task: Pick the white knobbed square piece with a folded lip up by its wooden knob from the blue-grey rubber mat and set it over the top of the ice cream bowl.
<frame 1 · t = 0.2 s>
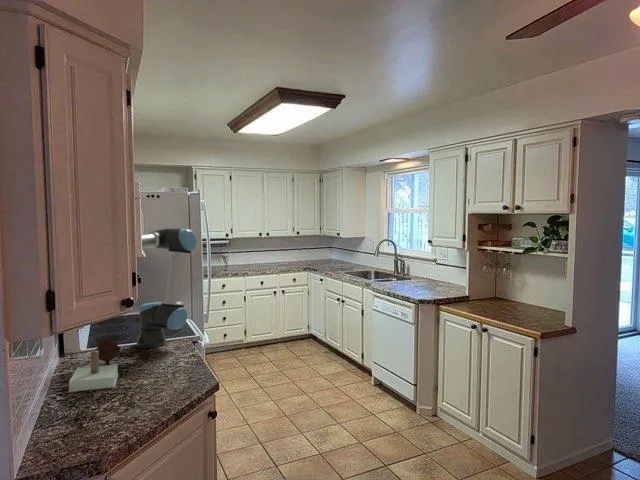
hand: (88, 313, 183), 28 cm above the worktop, tool tilted 15°, fingers open, 13 cm apart
ice cream bowl: (107, 369, 196), on the worktop
mat: (94, 383, 179), on the worktop
white knobbed square piece: (94, 381, 179), point 1 cm above the worktop, touching mat
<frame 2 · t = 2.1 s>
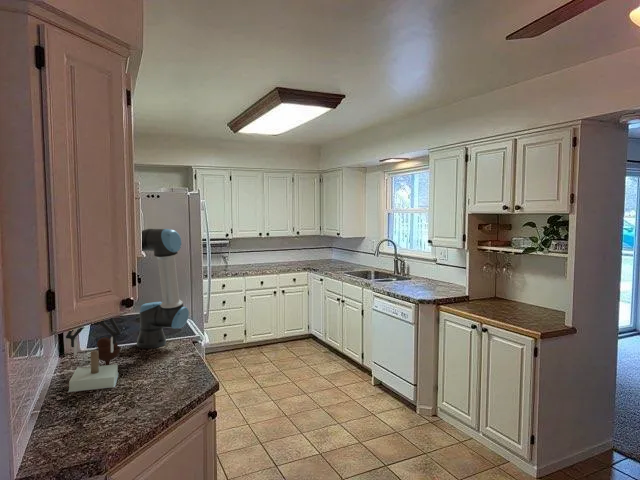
hand: (94, 353, 179), 13 cm above the worktop, tool pointing down, fingers open, 13 cm apart
nothing on the worktop moved.
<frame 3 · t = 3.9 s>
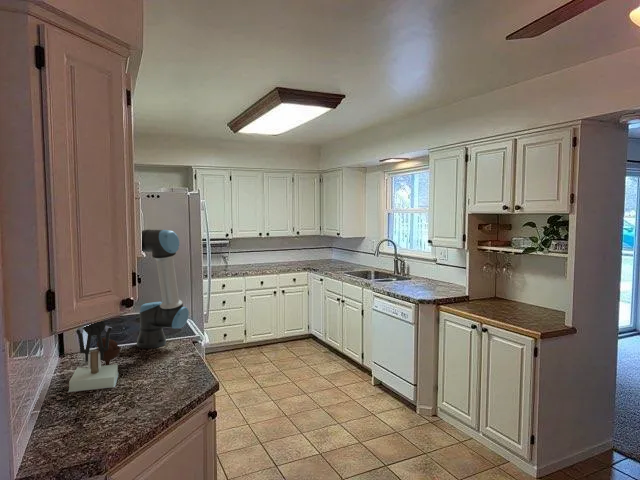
hand: (94, 367, 179), 7 cm above the worktop, tool pointing down, fingers closed on white knobbed square piece, 3 cm apart
white knobbed square piece: (94, 381, 179), point 1 cm above the worktop, touching gripper, mat
everything else where it was.
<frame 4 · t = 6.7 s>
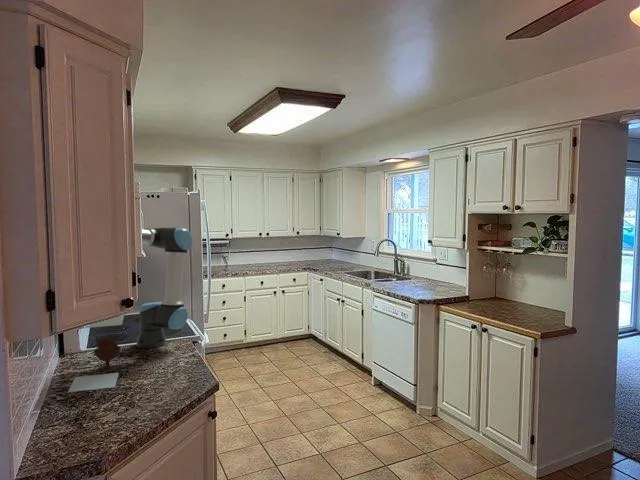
hand: (102, 308, 188), 30 cm above the worktop, tool pointing down, fingers closed on white knobbed square piece, 3 cm apart
white knobbed square piece: (103, 321, 188), point 24 cm above the worktop, touching gripper
everything else where it was.
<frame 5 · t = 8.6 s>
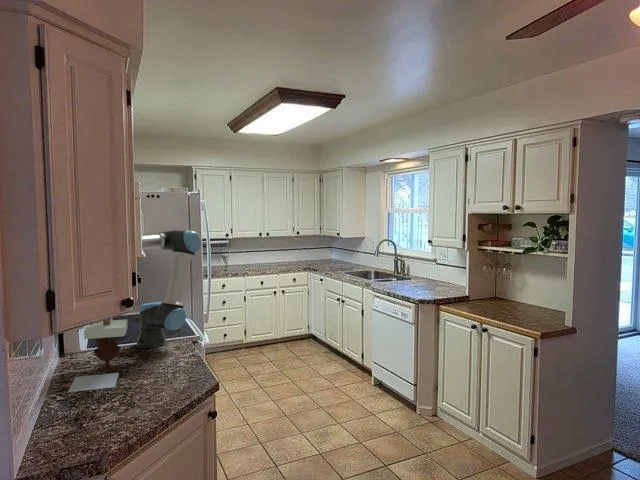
hand: (106, 320, 195), 23 cm above the worktop, tool pointing down, fingers closed on white knobbed square piece, 3 cm apart
white knobbed square piece: (106, 332, 195), point 17 cm above the worktop, touching gripper
everything else where it was.
when the fingers open (19 cm above the worktop, at t = 9.9 s): white knobbed square piece drops 1 cm, resting on ice cream bowl.
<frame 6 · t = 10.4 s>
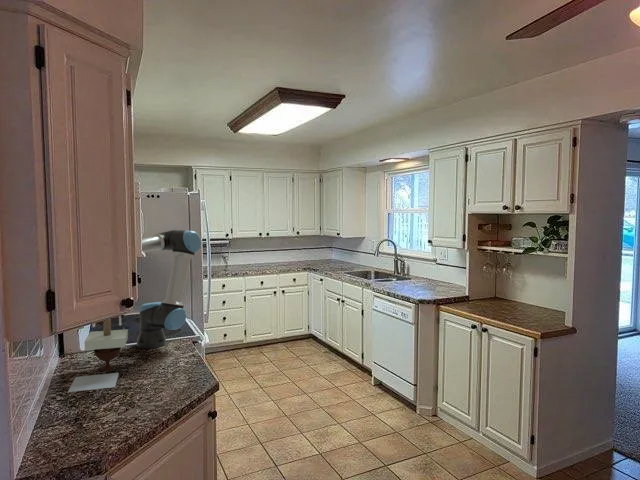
hand: (107, 325, 195), 20 cm above the worktop, tool pointing down, fingers open, 10 cm apart
ice cream bowl: (107, 369, 196), on the worktop, touching white knobbed square piece
white knobbed square piece: (107, 343, 195), point 12 cm above the worktop, touching ice cream bowl
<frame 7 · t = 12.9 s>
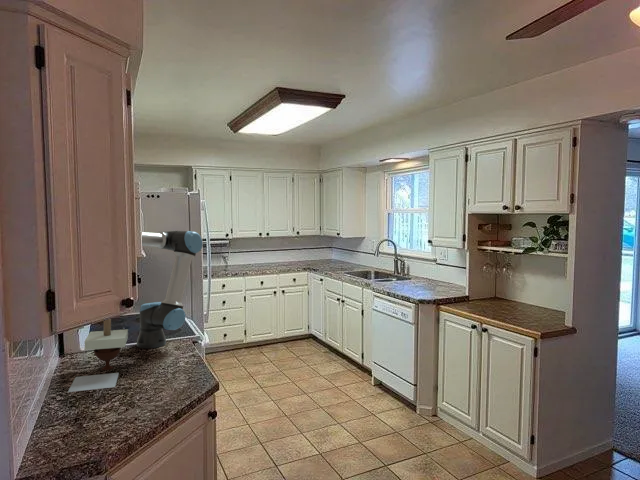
hand: (107, 305, 196), 29 cm above the worktop, tool pointing down, fingers open, 13 cm apart
nothing on the worktop moved.
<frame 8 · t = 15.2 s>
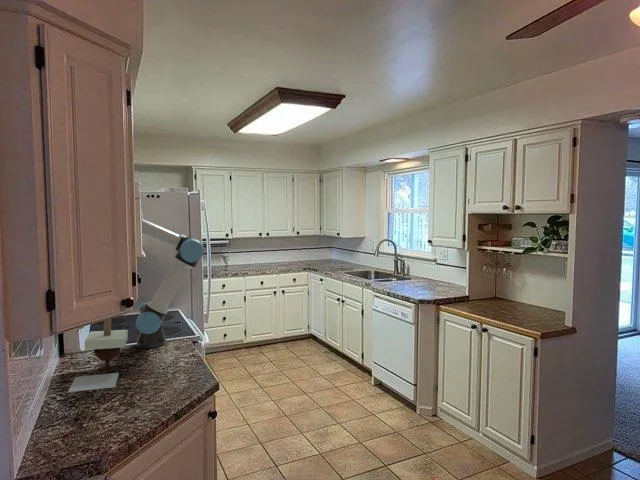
hand: (96, 279, 213), 39 cm above the worktop, tool pointing down, fingers open, 13 cm apart
nothing on the worktop moved.
at the end: white knobbed square piece 0.0 cm off-centre in the ice cream bowl, point 12.2 cm above the ice cream bowl's base; white knobbed square piece tilted 1°; white knobbed square piece touching ice cream bowl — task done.
